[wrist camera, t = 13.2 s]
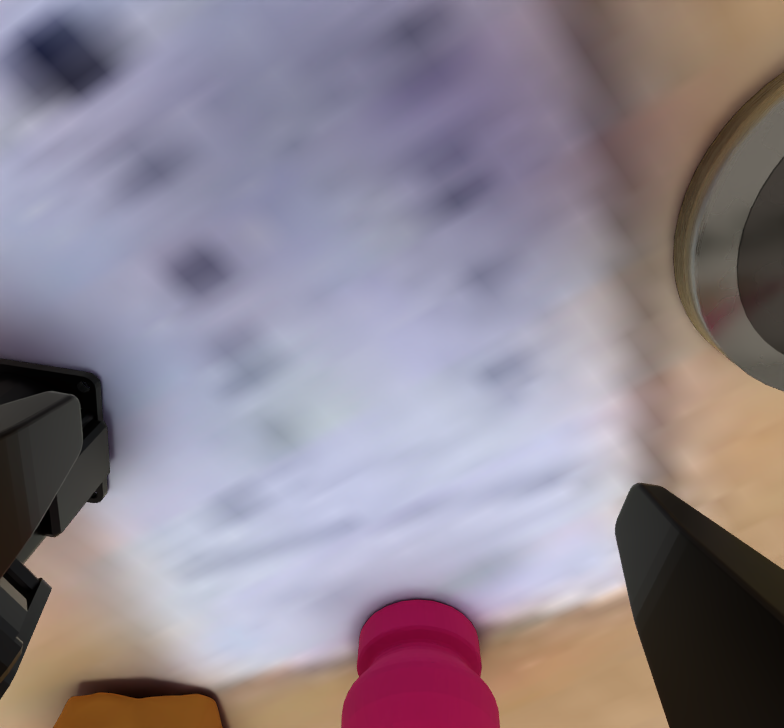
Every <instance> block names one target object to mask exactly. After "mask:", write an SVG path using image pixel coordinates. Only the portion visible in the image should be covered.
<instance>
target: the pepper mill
mask: <svg viewBox="0 0 784 728" xmlns="http://www.w3.org/2000/svg"><path fill="white" fill-rule="evenodd" d="M481 669H482V665H481V657H480V648H479V640H478V636H477V632H476V630H475V628H474V626H473V625H472V623H471V622H470V621H469V620H468V619H467V618H466V617H465V616H464V615H463V614H462V613H460V612H459V611H457V610H456V609H454V608H453V607H451V606H448V605H445V604H442V603H439V602H436V601H430V600H417V599H416V600H407V601H400V602H397V603H394V604H391V605H388V606H386V607H384V608H382V609H381V610H379V611H377V612H376V613H374V614H373V615H372V616H371V617H370V618H369V619H368V620H367V622H366V623H365V625H364V626H363V628H362V630H361V633H360V637H359V649H358V660H357V672H358V675H359V678H358V679H357V680H356V681H355V682H354V683H353V685H352V687H351V688H350V690H349V692H348V694H347V696H346V699H345V701H344V705H343V711H342V725H341V728H500V722H499V711H498V707H497V704H496V700H495V698H494V696H493V694H492V692H491V690H490V689H489V687H488V686H487V685H486V683H485V682H484V681H483V680H482V679H481V678H480V675H481Z"/></svg>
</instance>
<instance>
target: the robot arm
mask: <svg viewBox="0 0 784 728" xmlns="http://www.w3.org/2000/svg"><path fill="white" fill-rule="evenodd" d="M82 382H85V383H87V384H88V385H89V387H90V388H87V387H85V386H84V385H83V383H82ZM109 473H110V463H109V447H108V431H107V426H106V424H105V422H104V421H103V412H102V397H101V384H100V380H99V379H98V378H97V376H95V375H94V374H92V373H89V372H84V371H78V370H72V369H65V368H59V367H52V366H46V365H39V364H33V363H27V362H20V361H14V360H7V359H1V358H0V699H1V697H2V696H3V695H4V693H5V692H6V690H7V689H8V687H9V686H10V684H11V682H12V680H13V678H14V676H15V674H16V672H17V670H18V668H19V665H20V663H21V660H22V658H23V656H24V653H25V651H26V649H27V646H28V644H29V642H30V639H31V637H32V634H33V632H34V630H35V627H36V625H37V623H38V620H39V618H40V615H41V613H42V611H43V608H44V606H45V604H46V601H47V599H48V597H49V594H50V592H51V589H52V588H51V587H50V586H49V585H48V584H47V583H46V582H45V581H44V580H43V579H42V578H39V579H38V578H37V577H36V576H35V575H34V574H33V573H32V572H31V571H30V570H29V569H28V568H27V567H26V566H25V565H24V563H25V562H26V561H27V559H28V558H29V557H30V556H31V554H32V553H33V552H34V551H35V550H36V548H37V547H38V546H39V545H40V543H41V542H42V541H43V540H44V539H45V537H46V536H50V537H56V536H58V535H59V534H61V533H62V532H63V531H64V530H65V528H66V527H67V526H68V525H69V523H70V522H71V521H72V520H73V518H74V517H75V516H76V514H77V513H78V512H79V511H80V509H81V508H82V507H83V506H84V504H85V503H86V502H90V503H98V502H100V501H101V500H102V499H103V498H104V497H105V495H106V494H107V491H108V488H107V475H108V474H109ZM95 491H96V492H97V493H95ZM615 536H616V541H617V545H618V550H619V554H620V559H621V564H622V568H623V573H624V577H625V582H626V587H627V591H628V596H629V600H630V605H631V609H632V613H633V617H634V621H635V624H636V628H637V631H638V634H639V637H640V640H641V643H642V646H643V649H644V652H645V655H646V658H647V661H648V664H649V667H650V670H651V673H652V676H653V679H654V682H655V685H656V688H657V691H658V694H659V697H660V700H661V703H662V706H663V709H664V712H665V715H666V718H667V721H668V724H669V727H670V728H784V570H783V569H782V568H780V567H779V566H777V565H776V564H775V563H773V562H772V561H770V560H769V559H767V558H766V557H764V556H763V555H761V554H760V553H758V552H757V551H756V550H754V549H753V548H751V547H750V546H748V545H747V544H745V543H744V542H742V541H741V540H739V539H738V538H737V537H735V536H734V535H732V534H731V533H729V532H728V531H726V530H725V529H723V528H722V527H720V526H719V525H718V524H716V523H715V522H713V521H712V520H710V519H709V518H707V517H706V516H704V515H703V514H701V513H700V512H699V511H697V510H696V509H694V508H693V507H691V506H690V505H688V504H687V503H685V502H684V501H682V500H681V499H680V498H678V497H677V496H675V495H674V494H672V493H671V492H669V491H668V490H666V489H665V488H663V487H661V486H658V485H652V484H645V483H636V484H634V485H633V486H632V487H631V489H630V491H629V493H628V495H627V498H626V500H625V502H624V504H623V507H622V509H621V511H620V514H619V516H618V518H617V521H616V525H615Z"/></svg>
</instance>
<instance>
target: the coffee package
mask: <svg viewBox="0 0 784 728" xmlns="http://www.w3.org/2000/svg"><path fill="white" fill-rule="evenodd" d="M53 728H223V727H222V724H221V719H220V715H219V712H218V708H217V704H216V702H215V701H214V700H213V699H211V698H210V697H207V696H204V695H200V694H189V695H181V696H157V697H147V698H141V699H136V698H132V697H128V696H123V695H119V694H114V693H105V692H100V693H95V694H91V695H84V696H73V697H71V698H70V699H69V700H68V702H67V703H66V705H65V707H64V709H63V711H62V713H61V715H60V717H59V718H58V720H57V722H56V723H55V725H54V727H53Z"/></svg>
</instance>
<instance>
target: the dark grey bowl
mask: <svg viewBox="0 0 784 728" xmlns="http://www.w3.org/2000/svg"><path fill="white" fill-rule="evenodd" d="M673 260H674V271H675V280H676V284H677V288H678V292H679V296H680V299H681V302H682V304H683V306H684V309H685V311H686V313H687V315H688V317H689V318H690V320H691V322H692V323H693V325H694V326H695V328H696V329H697V330H698V332H699V333H700V334H701V335H702V336H703V337H704V338H705V339H706V340H707V342H709V343H710V344H711V345H712V346H714V347H715V348H716V349H717V350H718V351H720V352H721V353H722V354H723V355H725V356H726V357H727V358H728V359H730V360H731V361H732V362H733V363H735V364H736V365H737V366H738V367H740V368H741V369H742V370H743V371H745V372H746V373H747V374H748V375H750V376H751V377H753V378H755V379H757V380H758V381H760V382H762V383H764V384H766V385H768V386H771V387H773V388H776V389H779V390H781V391H784V72H783V73H782V74H780V75H779V76H778V77H776V78H775V79H774V80H772V81H771V82H769V83H768V84H767V85H766V86H764V87H763V88H762V89H761V90H760V91H759V92H758V93H757V94H756V95H754V96H753V97H752V98H751V99H750V100H749V101H748V102H747V103H746V104H745V105H744V106H743V107H742V108H741V109H740V110H739V111H738V112H737V113H736V114H735V116H734V117H733V118H732V119H731V120H730V121H729V122H728V123H727V124H726V126H725V127H724V128H723V130H722V131H721V132H720V134H719V135H718V136H717V138H716V139H715V141H714V142H713V143H712V145H711V146H710V147H709V149H708V151H707V152H706V154H705V156H704V158H703V159H702V161H701V163H700V164H699V166H698V168H697V169H696V171H695V174H694V176H693V178H692V180H691V183H690V185H689V187H688V189H687V192H686V194H685V197H684V200H683V204H682V207H681V210H680V213H679V216H678V222H677V227H676V233H675V238H674V258H673Z"/></svg>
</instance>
